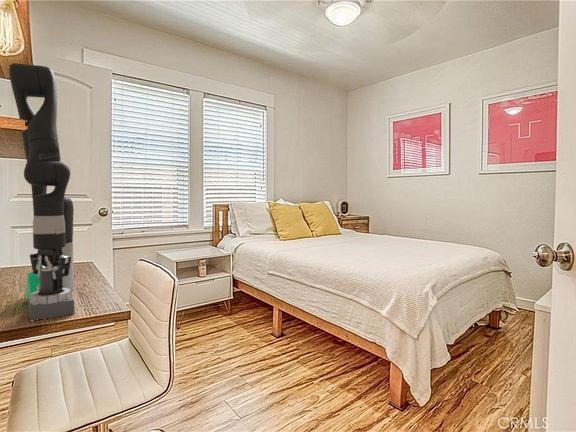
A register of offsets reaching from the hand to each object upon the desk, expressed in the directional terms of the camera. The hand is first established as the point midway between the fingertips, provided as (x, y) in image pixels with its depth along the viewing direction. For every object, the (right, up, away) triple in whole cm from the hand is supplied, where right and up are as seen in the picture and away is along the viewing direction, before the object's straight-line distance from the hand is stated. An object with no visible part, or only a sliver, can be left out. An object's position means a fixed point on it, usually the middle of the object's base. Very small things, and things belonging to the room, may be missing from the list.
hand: (51, 290), depth 96 cm
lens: (0, -1, 0) cm, 1 cm away
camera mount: (-9, -6, +9) cm, 14 cm away
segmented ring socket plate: (0, -7, 0) cm, 7 cm away
